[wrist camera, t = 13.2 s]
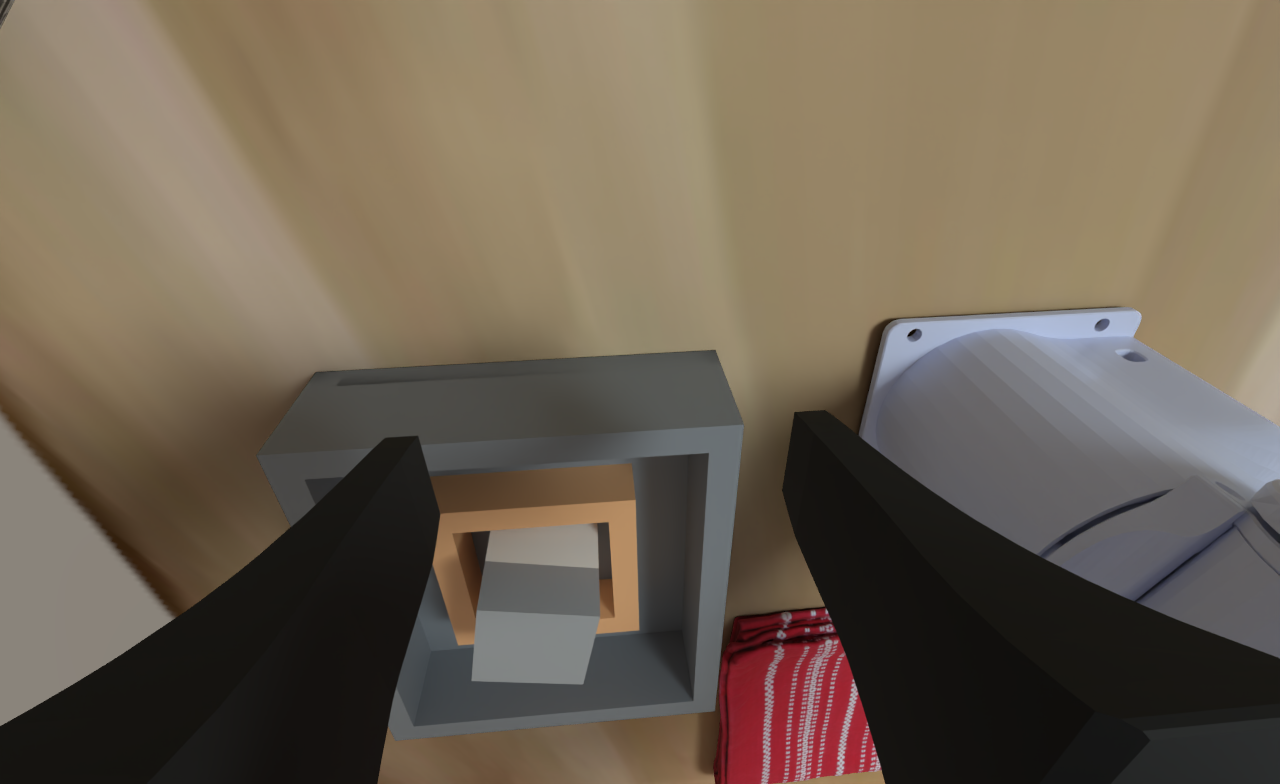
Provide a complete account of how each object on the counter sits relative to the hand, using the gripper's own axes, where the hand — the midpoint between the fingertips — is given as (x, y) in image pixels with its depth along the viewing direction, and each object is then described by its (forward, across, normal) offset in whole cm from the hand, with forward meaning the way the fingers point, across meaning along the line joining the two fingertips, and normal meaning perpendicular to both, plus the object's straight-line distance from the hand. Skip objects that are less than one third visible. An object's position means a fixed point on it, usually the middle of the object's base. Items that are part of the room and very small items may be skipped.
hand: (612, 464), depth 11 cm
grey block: (+8, +3, +11) cm, 14 cm away
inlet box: (+9, +3, +11) cm, 15 cm away
